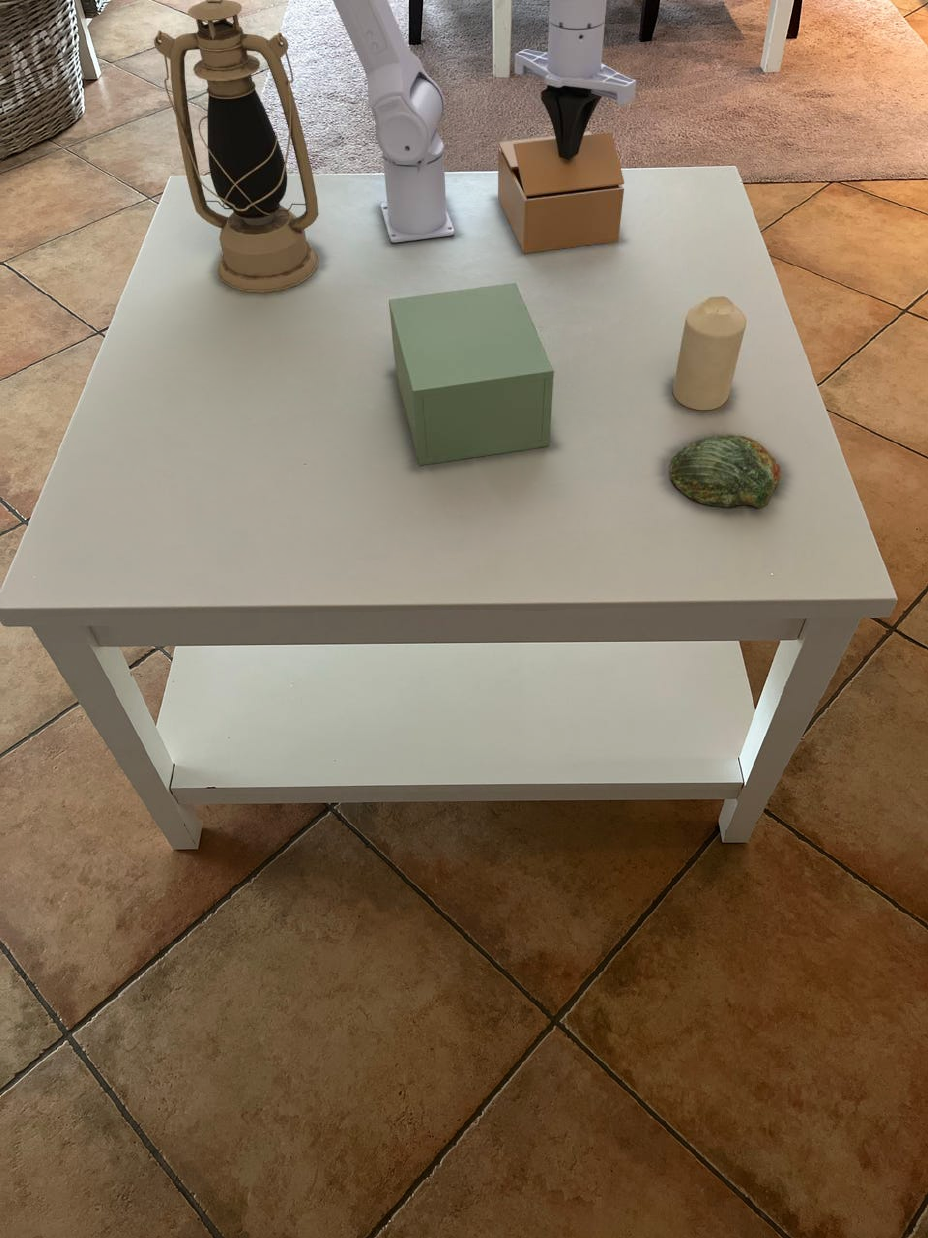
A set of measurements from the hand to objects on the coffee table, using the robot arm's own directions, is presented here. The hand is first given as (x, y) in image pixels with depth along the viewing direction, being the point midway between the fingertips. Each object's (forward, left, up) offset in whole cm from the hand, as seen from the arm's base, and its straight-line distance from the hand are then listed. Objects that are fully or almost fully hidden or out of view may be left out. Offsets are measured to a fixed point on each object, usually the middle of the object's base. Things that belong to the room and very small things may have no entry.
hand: (568, 155), depth 104 cm
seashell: (+45, +3, -10) cm, 47 cm away
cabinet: (+30, -18, -9) cm, 37 cm away
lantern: (-2, -36, -10) cm, 37 cm away
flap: (0, 0, -1) cm, 1 cm away
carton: (-4, 0, -9) cm, 10 cm away
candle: (+33, +5, -10) cm, 35 cm away
